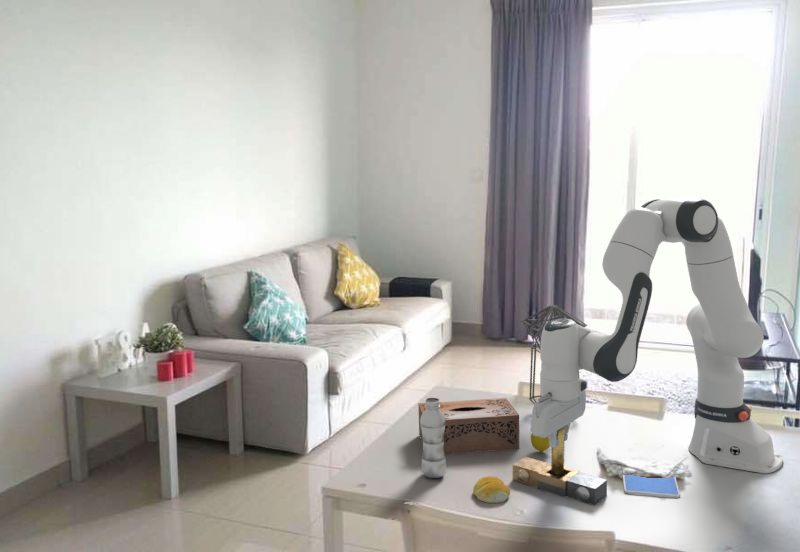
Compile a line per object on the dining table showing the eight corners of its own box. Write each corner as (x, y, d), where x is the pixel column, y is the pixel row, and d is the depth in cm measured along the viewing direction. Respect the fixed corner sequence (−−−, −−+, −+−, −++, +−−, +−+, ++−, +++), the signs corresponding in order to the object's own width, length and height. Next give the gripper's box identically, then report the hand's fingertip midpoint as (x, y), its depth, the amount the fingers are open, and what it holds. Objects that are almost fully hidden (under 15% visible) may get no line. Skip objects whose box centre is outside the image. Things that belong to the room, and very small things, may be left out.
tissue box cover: (426, 456, 198) (425, 421, 196) (419, 436, 212) (418, 403, 210) (519, 449, 200) (519, 415, 199) (506, 430, 215) (506, 397, 213)
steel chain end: (607, 494, 172) (608, 478, 172) (593, 506, 167) (594, 489, 166) (552, 478, 182) (552, 463, 181) (537, 488, 176) (537, 473, 176)
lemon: (551, 457, 194) (551, 428, 193) (530, 455, 196) (530, 427, 194) (551, 448, 200) (551, 421, 198) (531, 447, 201) (531, 420, 200)
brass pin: (566, 471, 176) (566, 428, 174) (560, 475, 174) (560, 431, 172) (555, 468, 178) (555, 425, 176) (548, 472, 176) (549, 429, 174)
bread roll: (500, 485, 179) (500, 469, 179) (514, 501, 171) (514, 485, 170) (468, 489, 178) (467, 474, 177) (480, 506, 169) (480, 489, 168)
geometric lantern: (590, 422, 219) (589, 308, 212) (541, 429, 215) (539, 313, 209) (566, 404, 234) (565, 297, 228) (520, 410, 231) (518, 302, 224)
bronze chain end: (579, 486, 177) (579, 470, 176) (565, 497, 172) (565, 481, 171) (526, 470, 186) (526, 455, 186) (511, 480, 181) (511, 465, 180)
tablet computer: (621, 462, 191) (621, 457, 191) (672, 466, 188) (672, 461, 188) (624, 495, 173) (624, 490, 173) (680, 500, 170) (680, 495, 169)
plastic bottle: (426, 483, 181) (424, 405, 178) (418, 472, 188) (416, 397, 184) (450, 479, 183) (449, 402, 180) (441, 468, 189) (440, 394, 186)
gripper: (548, 402, 163) (548, 461, 165) (590, 380, 178) (589, 433, 180) (524, 396, 167) (523, 454, 169) (567, 375, 182) (566, 428, 184)
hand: (558, 443), depth 175 cm, fingers closed on brass pin, 3 cm apart
